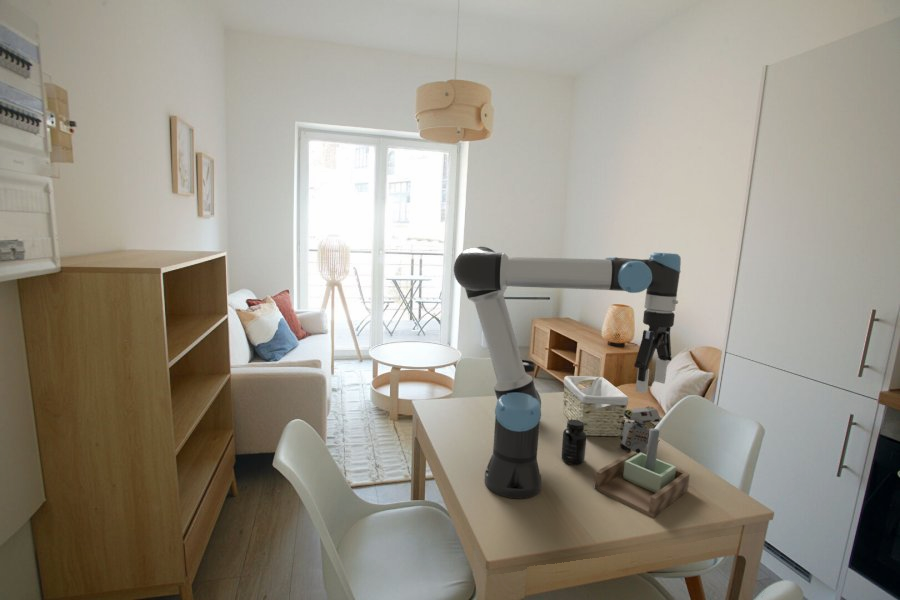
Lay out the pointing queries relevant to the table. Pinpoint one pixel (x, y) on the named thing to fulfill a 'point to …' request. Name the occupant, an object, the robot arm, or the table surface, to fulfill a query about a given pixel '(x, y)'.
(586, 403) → the storage basket
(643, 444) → the figurine
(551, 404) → the table surface
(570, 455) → the supplement bottle
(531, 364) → the travel mug
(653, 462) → the green box with handle
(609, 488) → the bay
